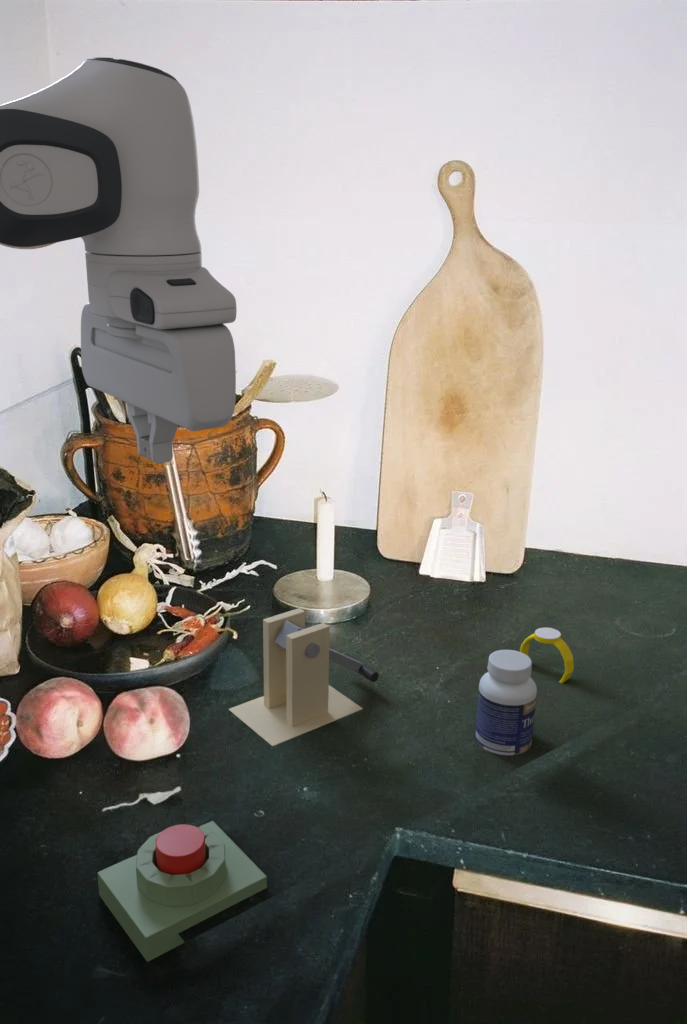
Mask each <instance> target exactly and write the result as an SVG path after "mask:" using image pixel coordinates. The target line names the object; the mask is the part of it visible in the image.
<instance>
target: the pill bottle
mask: <svg viewBox="0 0 687 1024" xmlns="http://www.w3.org/2000/svg"><path fill="white" fill-rule="evenodd" d="M532 667H533V661H532V659H531V657H530V656H529V657H528V656H527V655H525V654H524V653H521V652H520V651H518V650H514V649H499V650H494V651H493V652H492V653H490V654H489V656H488V660H487V671H486V672H485V673H484V674H483V675H482V676H481V678H480V680H479V683H478V692H477V693H478V695H477V706H476V707H477V708H476V719H475V731H474V732H475V733H474V738H475V741H476V743H477V744H478V745H479V747H481V748H482V749H483V750H485V751H487V752H490V753H492V754H495V755H500V756H516V755H520V754H521V755H522V754H523V753H525V752H527V751H529V749H530V748H531V746H532V743H533V742H532V741H533V733H534V725H535V715H536V704H537V695H538V688H537V684H536V682H535V681H534V679H533V678H532V677H531V676H532Z"/></svg>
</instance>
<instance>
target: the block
mask: <svg viewBox="0 0 687 1024" xmlns="http://www.w3.org/2000/svg"><path fill="white" fill-rule="evenodd" d="M194 826H195V827H197V828H199V829H200V830H201V831H202V832H203V834H204V836H205V854H206V857H205V861H204V863H203V865H202V866H201V867H200V868H199V869H198V870H196V871H193V872H191V873H189V874H181V875H170V874H167V873H164V872H163V871H161V870H160V869H159V867H158V865H157V859H156V839H157V837H158V835H159V834H160V833H161V832H162V831H160V832H157V833H155V834H153V835H151V836H149V837H148V838H147V839H146V840H145V842H144V843H143V844H142V845H141V846H140V847H139V848H138V850H137V852H136V854H135V855H132V856H131V857H128V858H126V859H124V860H122V861H120V862H117V863H115V864H113V865H110V866H109V867H106V868H104V869H102V870H100V871H98V872H97V873H96V874H97V885H98V893H99V894H98V895H99V897H100V898H101V900H102V901H103V903H104V904H105V905H106V907H107V908H108V909H109V911H110V912H111V914H112V915H113V917H114V918H115V919H116V921H117V922H118V923H119V925H120V926H121V928H122V929H123V931H124V932H125V933H126V934H127V936H128V937H129V939H130V940H131V941H132V943H133V944H134V946H135V947H136V949H137V950H138V951H139V952H140V954H141V955H142V957H143V958H144V960H145V961H146V963H148V962H151V961H152V960H154V959H156V958H158V957H160V956H161V955H163V954H165V953H168V952H169V951H171V950H173V949H175V948H177V947H179V946H181V945H182V944H184V943H186V941H185V940H184V939H183V938H182V935H180V933H182V932H184V931H187V930H188V929H190V928H192V927H194V926H196V925H198V924H200V923H201V922H203V921H205V920H208V919H209V918H211V917H213V916H215V915H217V914H219V913H221V912H223V911H225V910H226V909H229V908H231V907H232V906H235V905H237V904H239V903H241V902H243V901H244V900H246V899H248V898H250V897H251V896H254V895H255V894H257V893H260V892H261V891H263V890H266V889H267V888H268V876H267V875H266V874H265V873H264V872H263V871H262V870H261V869H260V868H259V866H258V865H256V864H255V863H254V861H253V860H252V859H250V857H249V856H248V855H247V854H246V853H245V852H244V851H243V850H242V849H241V848H240V847H239V846H238V845H237V844H236V842H234V840H233V839H231V837H229V836H228V834H226V833H225V832H224V830H223V829H221V828H220V827H219V826H218V825H217V823H216V822H215V821H214V820H210V821H209V822H207V823H204V824H201V825H200V826H196V825H194Z"/></svg>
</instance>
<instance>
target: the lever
mask: <svg viewBox="0 0 687 1024" xmlns="http://www.w3.org/2000/svg"><path fill="white" fill-rule="evenodd" d="M303 629H306V627H305V628H302V627H300V626H298V625H296V624H294V623H291V622H289V621H287V620H286V621H285V623H284V625H283V627H282V629H281V630H280V632H279V634H278V636H277V638H276V640H275V643H277V644H278V645H280V646H281V647H283V648H284V649H286V635H288V634H291V633H294V632H297V631H300V630H303ZM330 661H331V662H333V663H335V664H337V665H340V666H342V667H344V668H347V669H349V670H351V671H354V672H355V673H358V674H359V675H361V676H362V677H364V678H366V679H367V680H368V681H370V682H372V683H375V682H377V681H378V679H379V676H380V675H379V674H380V673H378V672H377V671H376V670H374V669H372V668H371V667H369V666H368V665H366V664H365V663H363V662H361V661H360V660H358V659H357V658H356V657H354V656H352V655H351V654H349V653H341V652H339V651H337V650H335V649H332V648H330V647H329V662H330Z"/></svg>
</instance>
